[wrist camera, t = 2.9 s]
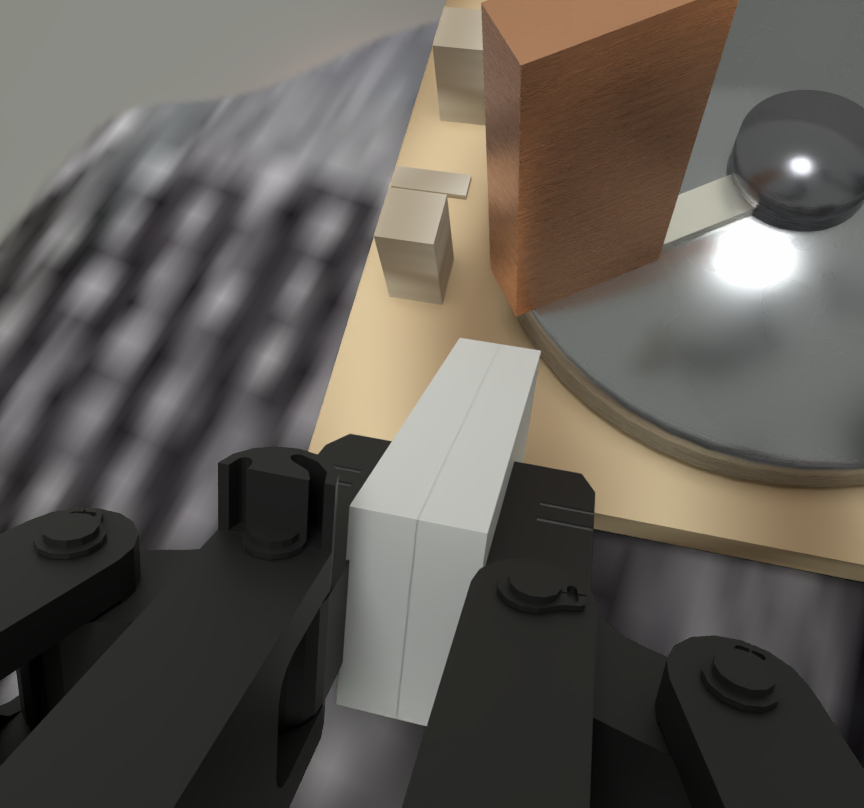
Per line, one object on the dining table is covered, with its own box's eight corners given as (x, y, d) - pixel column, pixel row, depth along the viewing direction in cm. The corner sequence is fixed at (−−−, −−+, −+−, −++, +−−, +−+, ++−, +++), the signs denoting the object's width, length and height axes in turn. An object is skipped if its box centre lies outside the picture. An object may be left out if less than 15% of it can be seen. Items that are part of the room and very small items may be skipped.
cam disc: (854, -39, 26) (1036, -454, 17) (1224, 342, 20) (1827, 0, 11) (401, 131, 25) (341, -218, 16) (640, 597, 19) (766, 452, 10)
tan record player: (1206, 73, 26) (1339, -56, 21) (1323, 673, 18) (1559, 651, 14) (457, 7, 30) (450, -111, 26) (318, 474, 23) (276, 413, 19)
